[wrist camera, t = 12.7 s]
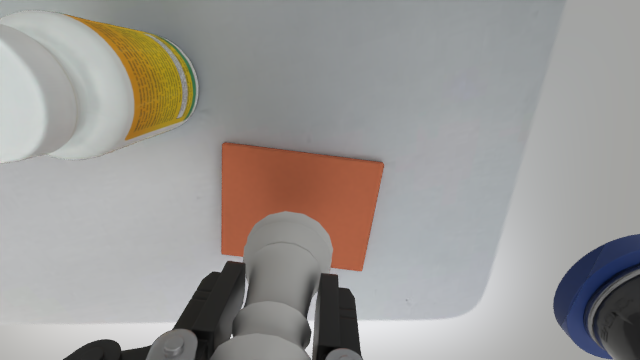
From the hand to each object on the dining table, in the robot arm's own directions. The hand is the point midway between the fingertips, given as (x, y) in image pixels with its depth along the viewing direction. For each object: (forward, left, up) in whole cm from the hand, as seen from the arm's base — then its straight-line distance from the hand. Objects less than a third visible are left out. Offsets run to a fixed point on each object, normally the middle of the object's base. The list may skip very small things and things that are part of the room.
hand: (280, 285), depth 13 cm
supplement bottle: (+9, -7, -8) cm, 14 cm away
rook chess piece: (0, 0, -3) cm, 3 cm away
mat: (0, 0, -8) cm, 8 cm away
